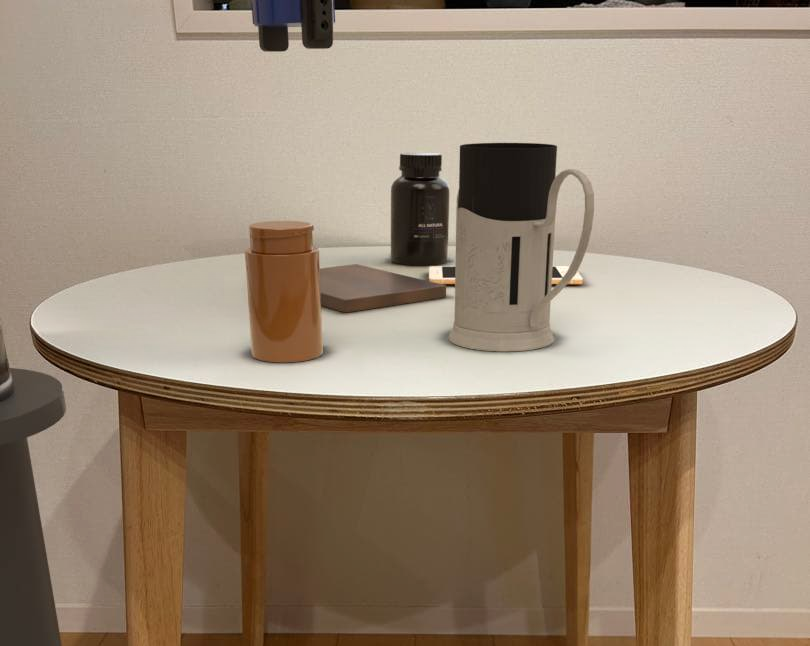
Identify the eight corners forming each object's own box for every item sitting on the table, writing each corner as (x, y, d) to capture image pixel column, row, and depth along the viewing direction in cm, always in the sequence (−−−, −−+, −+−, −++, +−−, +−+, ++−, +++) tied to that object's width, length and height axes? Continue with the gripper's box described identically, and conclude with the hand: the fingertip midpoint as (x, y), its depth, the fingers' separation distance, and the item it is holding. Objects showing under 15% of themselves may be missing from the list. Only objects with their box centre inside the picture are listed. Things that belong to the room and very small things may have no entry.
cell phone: (583, 284, 105) (583, 278, 105) (428, 284, 105) (428, 278, 105) (573, 271, 112) (573, 266, 112) (428, 271, 112) (428, 266, 112)
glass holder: (510, 322, 90) (517, 141, 83) (622, 356, 79) (640, 150, 72) (428, 334, 85) (429, 144, 79) (535, 372, 74) (546, 155, 68)
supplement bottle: (429, 268, 116) (430, 156, 111) (379, 263, 119) (378, 154, 114) (458, 259, 121) (460, 152, 116) (410, 255, 124) (410, 150, 119)
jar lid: (322, 26, 78) (321, -4, 78) (343, 22, 73) (342, -11, 72) (247, 27, 77) (244, -4, 76) (263, 23, 72) (260, -11, 71)
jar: (274, 366, 76) (266, 232, 72) (239, 352, 80) (229, 223, 76) (336, 355, 79) (332, 225, 75) (299, 341, 83) (293, 218, 79)
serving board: (345, 313, 93) (344, 299, 93) (261, 287, 105) (260, 275, 105) (446, 297, 100) (446, 285, 99) (356, 274, 112) (356, 263, 111)
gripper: (386, -241, 65) (391, 47, 72) (277, -195, 76) (291, 53, 83) (285, -260, 61) (300, 47, 68) (185, -209, 72) (207, 52, 79)
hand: (295, 49), depth 76 cm, fingers closed on jar lid, 6 cm apart
